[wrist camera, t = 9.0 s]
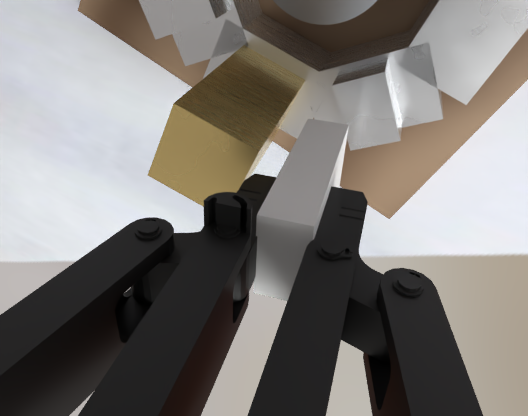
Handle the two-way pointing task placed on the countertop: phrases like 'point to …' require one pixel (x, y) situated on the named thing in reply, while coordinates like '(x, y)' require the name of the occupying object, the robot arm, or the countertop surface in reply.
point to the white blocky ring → (312, 81)
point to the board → (333, 39)
